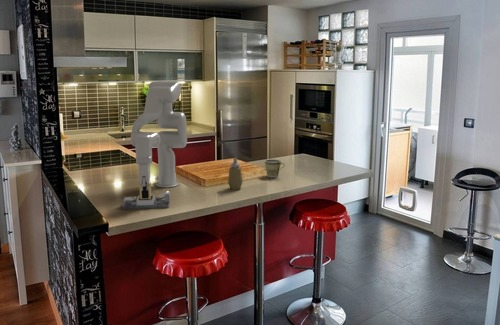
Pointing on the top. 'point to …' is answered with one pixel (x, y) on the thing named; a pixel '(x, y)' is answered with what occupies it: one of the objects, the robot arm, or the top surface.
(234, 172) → the squeeze bottle
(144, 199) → the beige rectangular block
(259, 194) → the top surface
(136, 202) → the shaft mount
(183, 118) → the robot arm
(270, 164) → the ceramic cup
